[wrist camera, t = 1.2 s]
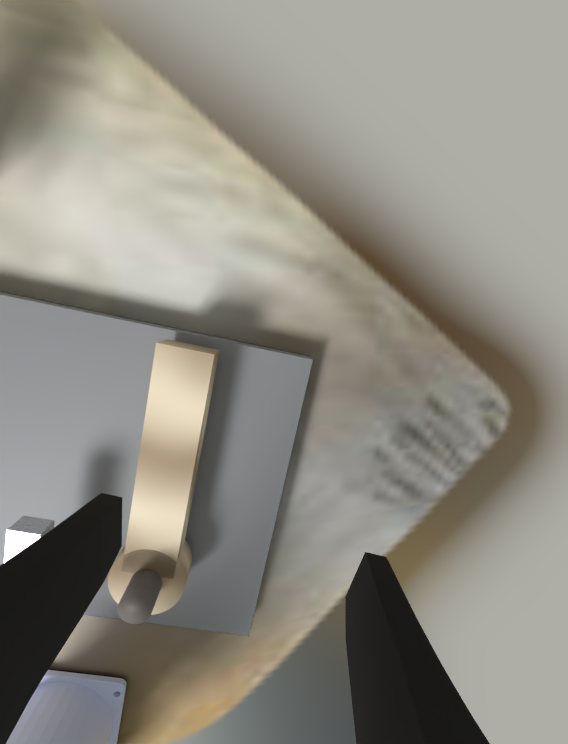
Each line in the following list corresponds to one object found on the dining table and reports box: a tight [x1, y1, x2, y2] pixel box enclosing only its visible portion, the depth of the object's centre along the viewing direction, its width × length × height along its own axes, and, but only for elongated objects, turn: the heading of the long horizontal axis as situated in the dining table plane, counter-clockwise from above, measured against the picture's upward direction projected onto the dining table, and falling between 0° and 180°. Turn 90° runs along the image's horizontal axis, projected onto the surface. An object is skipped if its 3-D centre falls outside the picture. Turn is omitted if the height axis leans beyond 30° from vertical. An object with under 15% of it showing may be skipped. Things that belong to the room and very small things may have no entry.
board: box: [0, 292, 313, 636], centre depth 22 cm, size 20×20×2 cm
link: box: [108, 339, 220, 624], centre depth 19 cm, size 16×4×4 cm, turn 168°
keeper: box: [4, 516, 55, 562], centre depth 20 cm, size 8×2×4 cm, turn 168°
